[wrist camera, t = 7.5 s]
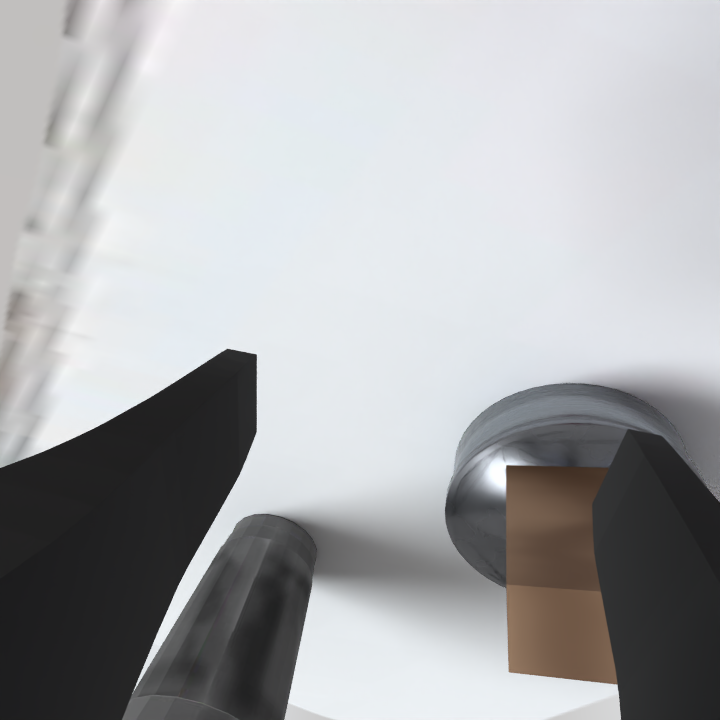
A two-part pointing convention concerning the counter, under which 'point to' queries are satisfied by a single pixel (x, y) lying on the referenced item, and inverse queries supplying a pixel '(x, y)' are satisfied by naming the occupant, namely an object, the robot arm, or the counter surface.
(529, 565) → the walnut block
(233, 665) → the beverage cup
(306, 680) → the counter surface
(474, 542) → the grey tin
